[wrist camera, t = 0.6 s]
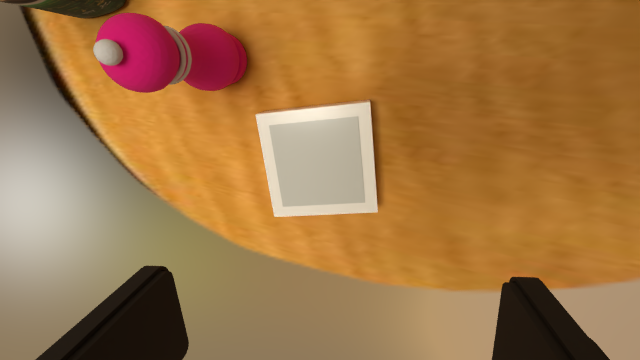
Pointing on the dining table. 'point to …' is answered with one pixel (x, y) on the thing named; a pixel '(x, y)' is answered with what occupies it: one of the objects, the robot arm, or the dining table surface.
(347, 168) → the stand
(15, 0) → the coffee jar
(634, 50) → the dining table surface
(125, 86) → the pepper mill
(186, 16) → the dining table surface
